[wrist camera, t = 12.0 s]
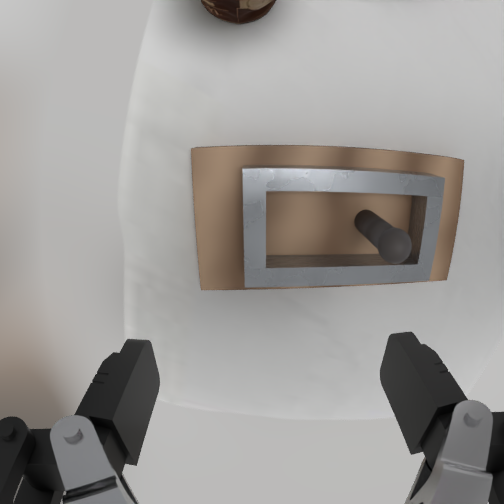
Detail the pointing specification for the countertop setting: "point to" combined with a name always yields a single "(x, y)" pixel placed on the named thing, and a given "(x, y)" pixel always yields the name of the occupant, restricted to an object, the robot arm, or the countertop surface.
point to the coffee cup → (238, 9)
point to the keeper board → (313, 210)
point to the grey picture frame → (339, 265)
